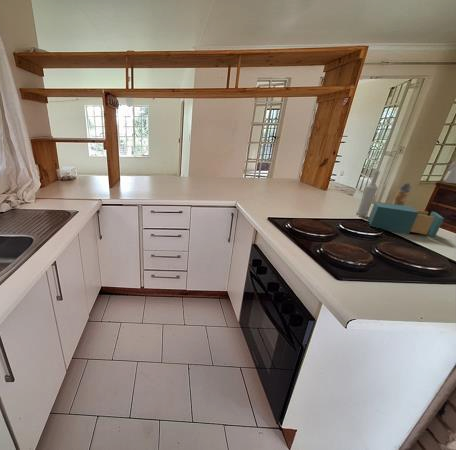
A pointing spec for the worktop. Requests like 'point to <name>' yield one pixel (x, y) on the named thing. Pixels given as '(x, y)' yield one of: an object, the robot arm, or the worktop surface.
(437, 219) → the drawer
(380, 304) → the worktop surface
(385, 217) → the cabinet
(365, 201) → the bottle
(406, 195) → the pepper mill
